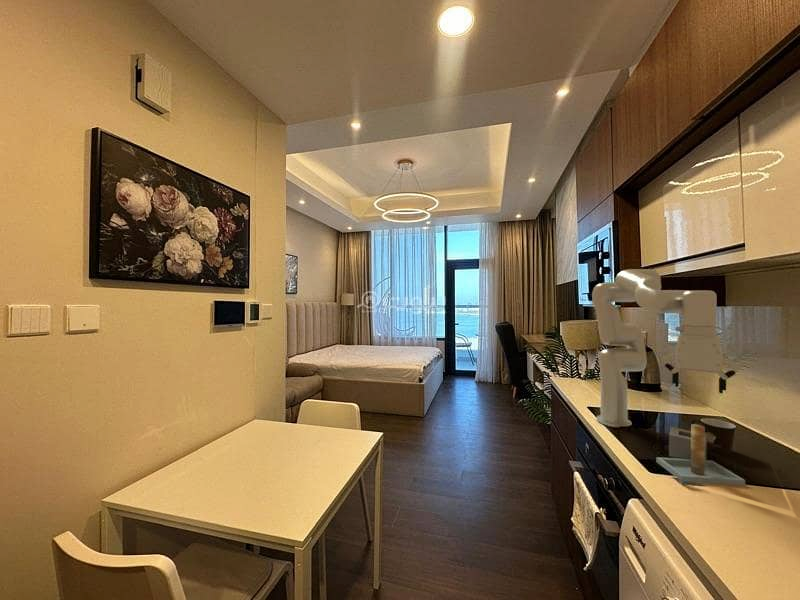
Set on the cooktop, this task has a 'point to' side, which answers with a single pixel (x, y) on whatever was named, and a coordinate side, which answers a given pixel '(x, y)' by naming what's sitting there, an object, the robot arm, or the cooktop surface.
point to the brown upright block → (698, 449)
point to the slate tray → (712, 475)
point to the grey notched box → (681, 443)
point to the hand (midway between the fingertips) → (698, 389)
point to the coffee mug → (718, 435)
